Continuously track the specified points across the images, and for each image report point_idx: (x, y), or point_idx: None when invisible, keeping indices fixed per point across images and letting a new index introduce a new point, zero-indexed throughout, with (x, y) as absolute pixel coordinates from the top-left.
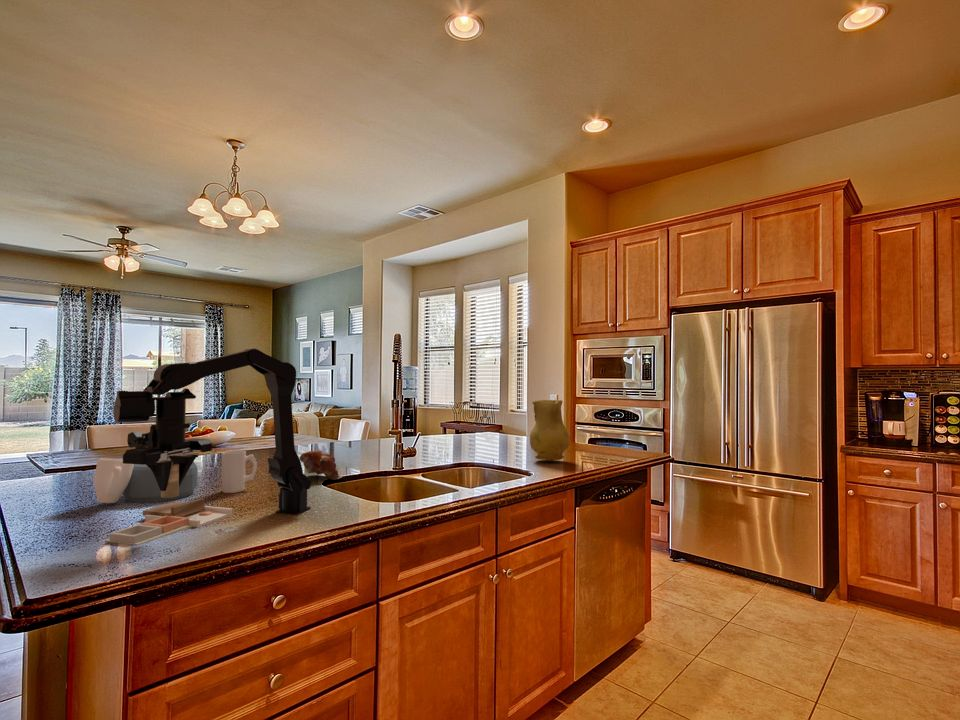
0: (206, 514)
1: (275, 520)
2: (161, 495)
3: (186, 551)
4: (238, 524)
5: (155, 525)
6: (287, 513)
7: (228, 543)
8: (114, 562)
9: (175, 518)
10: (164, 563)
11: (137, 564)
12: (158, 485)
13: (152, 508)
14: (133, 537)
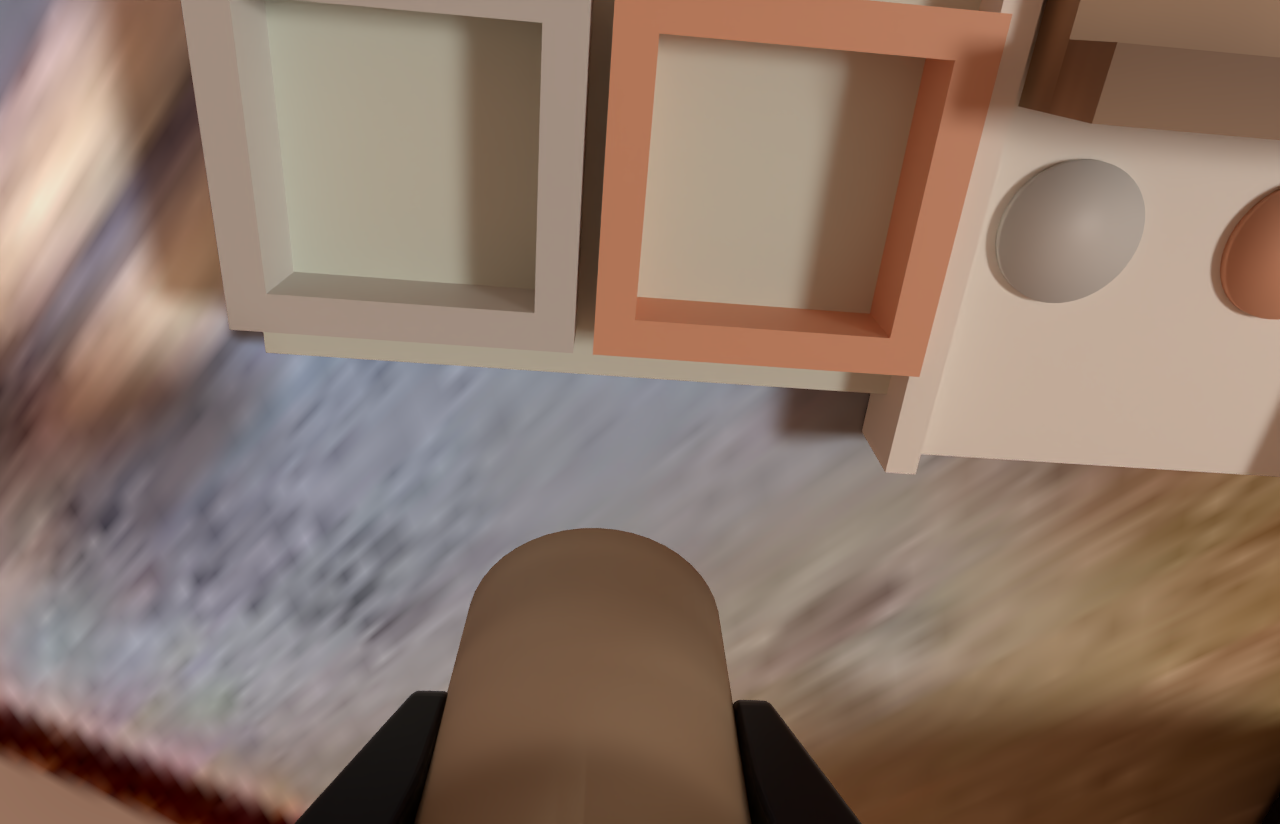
0: (1234, 300)
1: (1122, 796)
2: (472, 609)
3: (390, 686)
4: (1021, 636)
5: (600, 237)
6: (1275, 809)
7: None
8: (3, 407)
9: (915, 217)
10: (174, 708)
11: (73, 582)
12: (344, 771)
13: None
14: (232, 323)
